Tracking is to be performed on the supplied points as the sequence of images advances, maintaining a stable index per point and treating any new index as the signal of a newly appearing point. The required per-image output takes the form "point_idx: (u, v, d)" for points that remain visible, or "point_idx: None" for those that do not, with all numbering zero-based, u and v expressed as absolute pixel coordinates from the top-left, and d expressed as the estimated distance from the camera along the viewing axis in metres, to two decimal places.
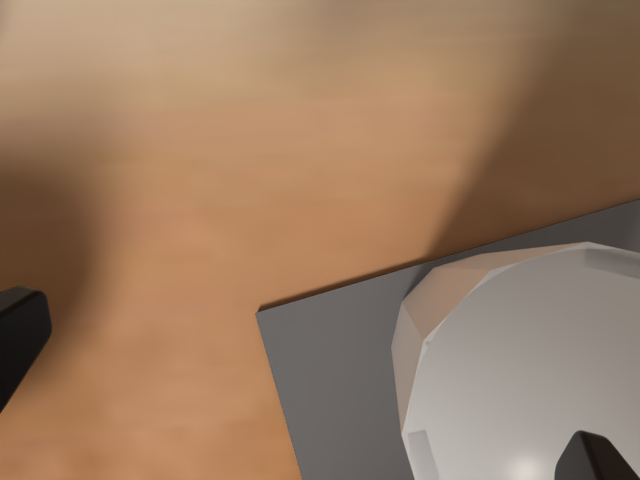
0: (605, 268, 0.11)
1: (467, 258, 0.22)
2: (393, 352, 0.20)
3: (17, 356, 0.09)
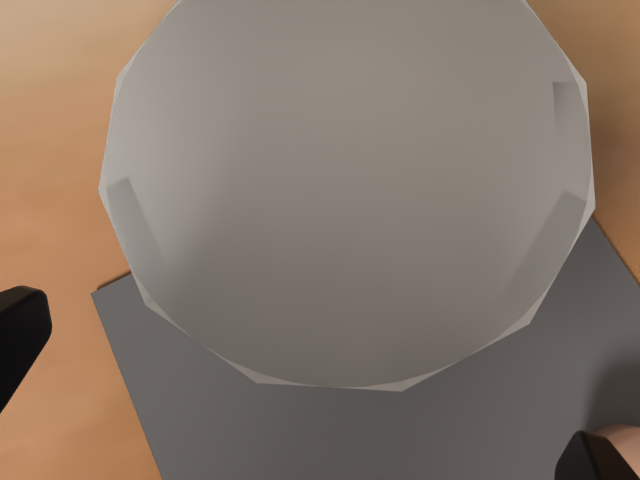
0: None
1: None
2: None
3: (17, 356, 0.09)
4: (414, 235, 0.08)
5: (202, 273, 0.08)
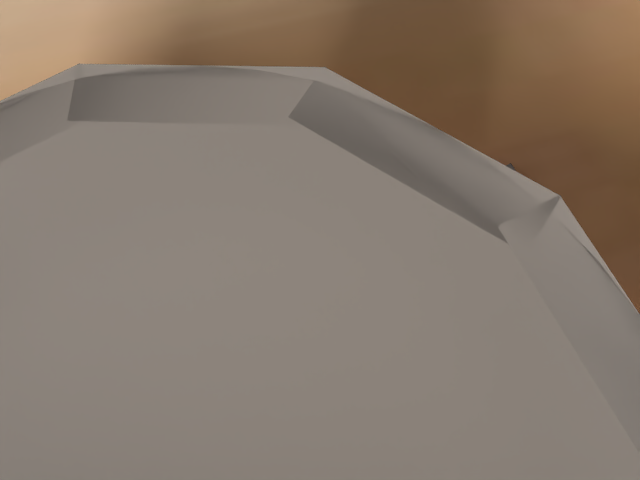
0: (121, 115, 0.04)
1: None
2: None
3: None
4: None
5: None
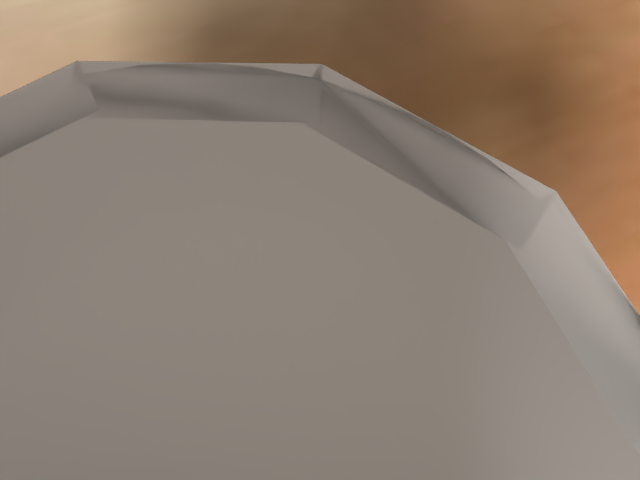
0: (119, 112, 0.04)
1: None
2: None
3: None
4: None
5: None
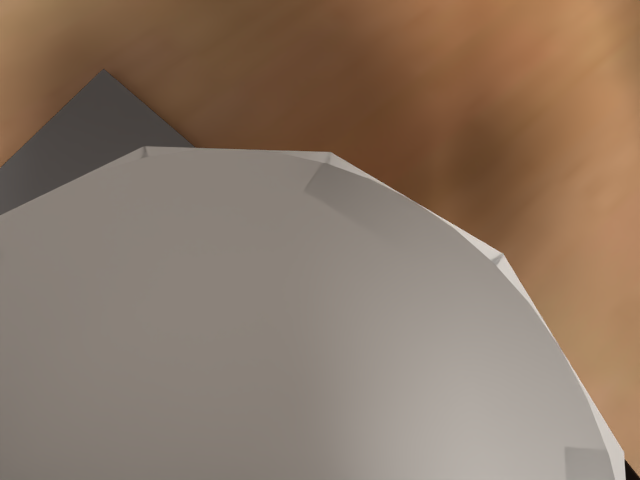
0: (177, 187, 0.06)
1: None
2: None
3: None
4: None
5: None
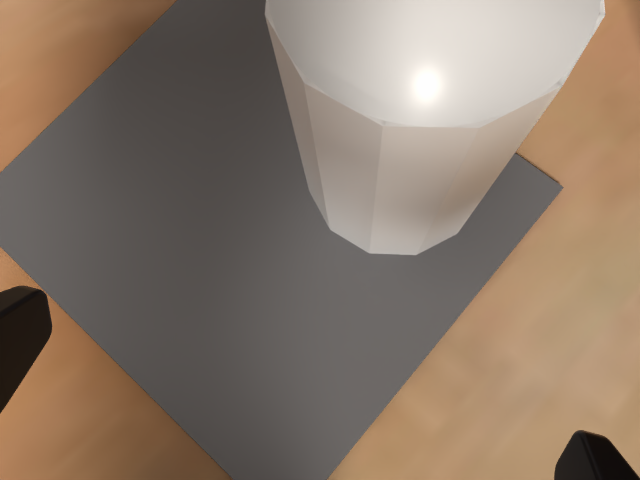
0: None
1: None
2: None
3: (17, 356, 0.09)
4: (484, 35, 0.12)
5: (342, 62, 0.12)
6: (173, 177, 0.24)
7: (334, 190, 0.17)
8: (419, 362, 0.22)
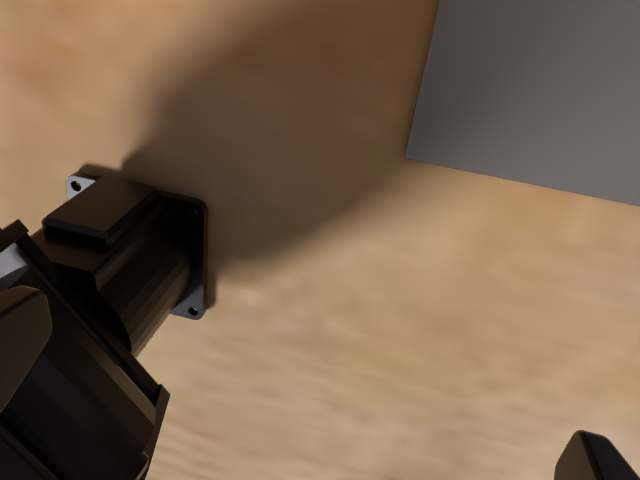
0: None
1: None
2: None
3: (17, 356, 0.09)
4: None
5: None
6: None
7: None
8: (634, 203, 0.19)
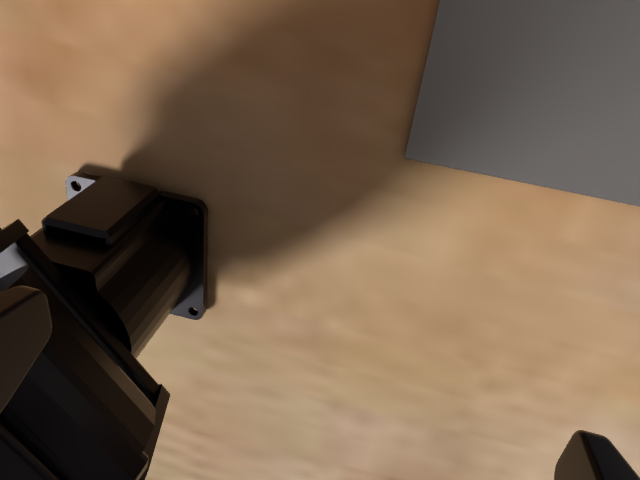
0: None
1: None
2: None
3: (17, 356, 0.09)
4: None
5: None
6: None
7: None
8: (634, 203, 0.19)
